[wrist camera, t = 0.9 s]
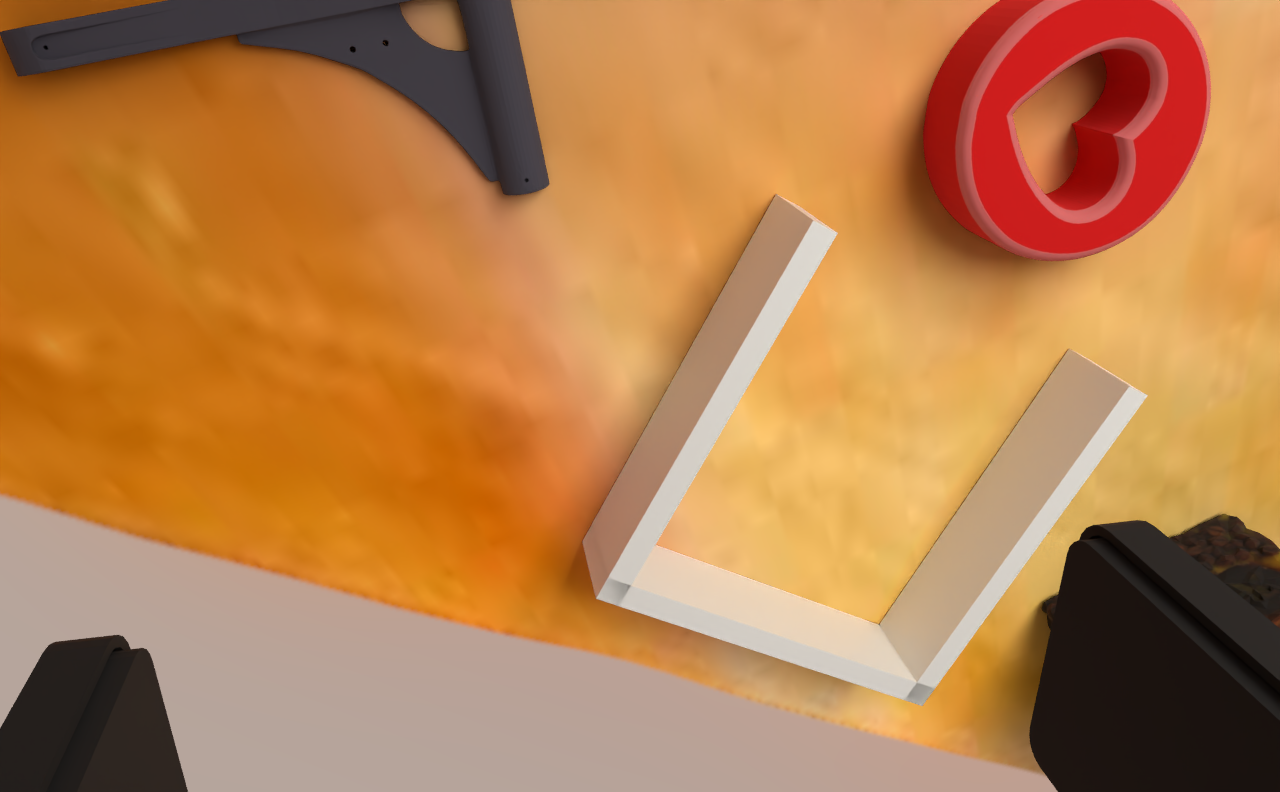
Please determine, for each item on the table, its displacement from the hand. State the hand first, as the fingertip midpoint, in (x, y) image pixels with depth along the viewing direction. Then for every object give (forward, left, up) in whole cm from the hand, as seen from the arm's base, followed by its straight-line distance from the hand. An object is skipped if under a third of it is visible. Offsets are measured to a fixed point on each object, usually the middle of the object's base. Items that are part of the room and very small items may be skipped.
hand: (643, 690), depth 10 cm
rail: (+4, +17, -26) cm, 32 cm away
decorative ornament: (-11, +17, -27) cm, 34 cm away
